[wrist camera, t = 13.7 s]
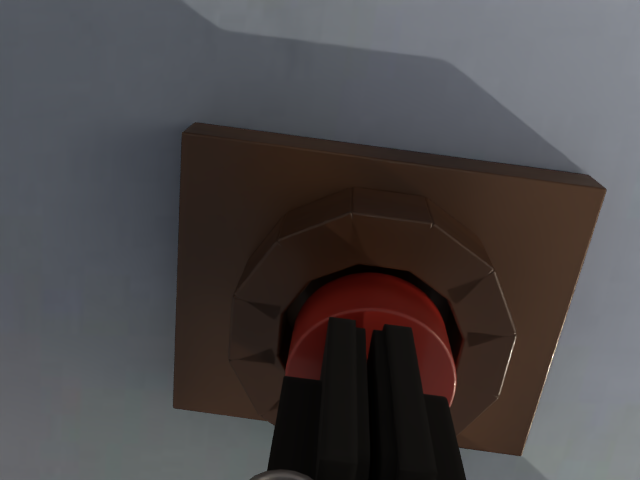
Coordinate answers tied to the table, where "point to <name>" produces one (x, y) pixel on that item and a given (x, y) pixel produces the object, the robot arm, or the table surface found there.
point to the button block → (373, 264)
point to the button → (374, 326)
